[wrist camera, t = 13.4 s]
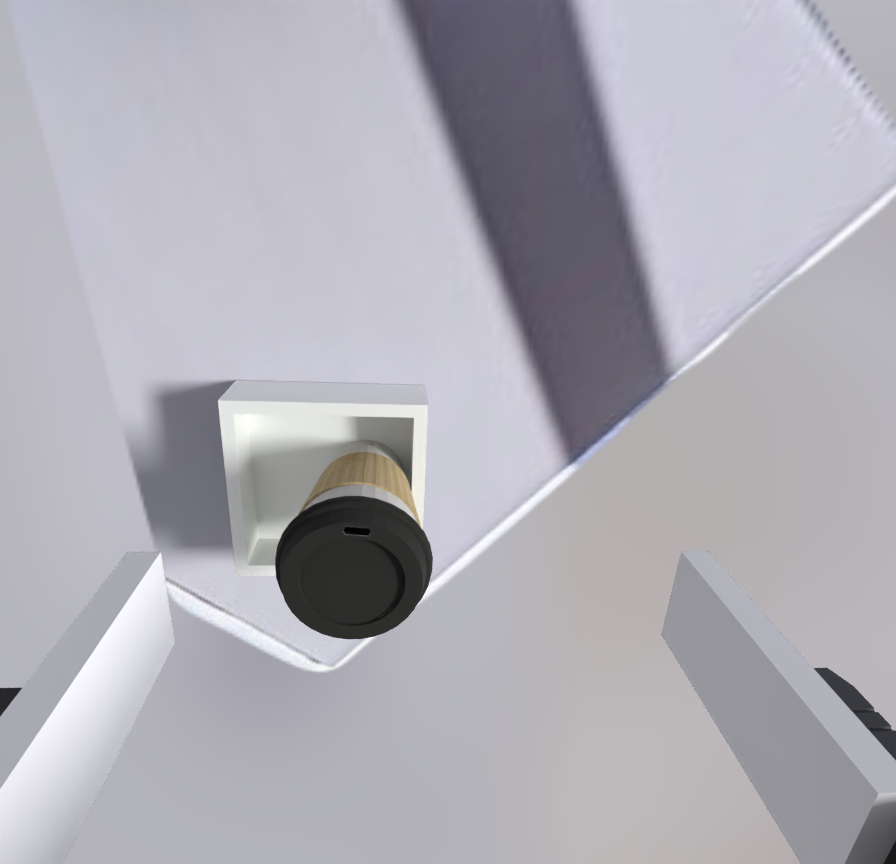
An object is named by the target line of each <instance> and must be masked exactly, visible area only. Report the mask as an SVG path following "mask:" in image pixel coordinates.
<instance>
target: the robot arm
mask: <svg viewBox="0 0 896 864" xmlns="http://www.w3.org/2000/svg"><path fill="white" fill-rule="evenodd" d="M662 637H663V638H664V640H665V641H666V643H667V645H668V646H669V648H670V650H671V651H672V653H673V655H674V656H675V658H676V659H677V661H678V663H679V664H680V666H681V668H682V669H683V671H684V673H685V674H686V676H687V677H688V679H689V681H690V682H691V684H692V686H693V687H694V689H695V691H696V692H697V694H698V696H699V697H700V699H701V700H702V702H703V704H704V705H705V707H706V709H707V710H708V712H709V714H710V715H711V717H712V718H713V720H714V722H715V724H716V725H717V727H718V728H719V730H720V732H721V733H722V735H723V737H724V738H725V740H726V742H727V743H728V745H729V746H730V748H731V750H732V751H733V753H734V755H735V756H736V758H737V760H738V761H739V763H740V765H741V766H742V768H743V769H744V771H745V773H746V774H747V776H748V778H749V779H750V781H751V782H752V784H753V786H754V787H755V789H756V791H757V792H758V794H759V796H760V797H761V799H762V801H763V802H764V804H765V805H766V807H767V809H768V811H769V812H770V814H771V815H772V817H773V819H774V820H775V822H776V824H777V825H778V827H779V829H780V830H781V832H782V834H783V835H784V836H785V838H786V840H787V842H788V843H789V845H790V846H791V848H792V850H793V851H794V853H795V855H796V856H797V858H798V860H799V861H800V863H801V864H896V731H892V729H891V726H890V725H889V723H888V722H887V721H886V720H885V719H884V718H883V717H882V716H881V715H880V714H879V713H878V712H875V711H874V708H873V706H872V705H871V704H870V703H869V702H868V701H867V700H866V699H865V698H864V697H863V696H862V695H861V694H860V693H859V692H858V691H857V689H855V687H853V686H852V685H851V684H849V683H848V682H847V681H845V680H843V679H842V678H841V677H839V676H838V675H837V674H835V673H834V672H832V671H831V670H829V669H828V668H813V667H812V666H811V665H810V664H809V663H808V662H807V661H806V659H805V658H804V657H803V656H802V655H801V654H800V653H799V651H798V650H797V649H796V648H795V647H794V646H793V645H792V644H791V642H789V640H788V639H787V638H786V637H785V636H784V635H783V633H782V632H780V630H779V629H778V628H777V627H776V626H775V625H774V624H773V622H772V621H771V620H770V619H769V618H768V617H767V616H766V615H765V613H764V612H763V611H762V610H761V609H760V608H759V607H758V605H757V604H756V603H755V602H754V601H753V600H752V599H751V598H750V596H749V595H748V594H747V593H746V592H745V591H744V590H743V589H742V588H741V586H740V585H739V584H738V583H737V582H736V581H735V580H734V579H733V578H732V576H730V574H729V573H728V572H727V571H726V570H725V569H724V567H723V566H722V565H721V564H720V563H719V562H718V561H717V559H716V558H715V557H714V556H713V555H712V554H711V553H710V552H709V551H681V555H680V559H679V564H678V567H677V572H676V576H675V580H674V584H673V588H672V592H671V596H670V601H669V605H668V609H667V614H666V618H665V621H664V626H663V630H662ZM174 643H175V640H174V634H173V627H172V621H171V615H170V609H169V602H168V596H167V589H166V583H165V577H164V570H163V564H162V558H161V552H127V553H126V554H125V556H124V557H123V558H122V560H121V561H120V562H119V563H118V565H117V566H116V567H115V569H114V570H113V571H112V572H111V574H110V575H109V576H108V578H107V579H106V580H105V582H104V583H103V584H102V585H101V587H100V588H99V589H98V591H97V592H96V593H95V594H94V596H93V597H92V598H91V600H90V601H89V602H88V604H87V605H86V606H85V607H84V609H83V610H82V611H81V613H80V614H79V615H78V617H77V618H76V619H75V620H74V622H73V623H72V624H71V626H70V627H69V628H68V629H67V631H66V632H65V633H64V635H63V636H62V637H61V639H60V640H59V641H58V642H57V644H56V645H55V646H54V648H53V649H52V650H51V652H50V653H49V654H48V655H47V657H46V658H45V659H44V661H43V662H42V663H41V664H40V666H39V667H38V668H37V670H36V671H35V672H34V674H33V675H32V676H31V678H30V679H29V680H28V681H27V683H26V684H25V685H24V687H23V688H0V864H63V863H64V861H65V859H66V857H67V855H68V853H69V851H70V849H71V847H72V845H73V843H74V841H75V839H76V837H77V835H78V833H79V831H80V829H81V827H82V825H83V823H84V821H85V819H86V817H87V815H88V813H89V811H90V809H91V807H92V805H93V804H94V801H95V799H96V797H97V795H98V793H99V792H100V790H101V788H102V785H103V783H104V782H105V780H106V778H107V776H108V774H109V772H110V770H111V768H112V766H113V764H114V762H115V760H116V758H117V756H118V754H119V752H120V750H121V748H122V746H123V744H124V742H125V740H126V738H127V736H128V734H129V732H130V730H131V728H132V726H133V724H134V722H135V720H136V718H137V716H138V714H139V712H140V710H141V708H142V706H143V705H144V702H145V700H146V699H147V697H148V695H149V693H150V691H151V688H152V687H153V685H154V683H155V681H156V679H157V677H158V675H159V673H160V671H161V669H162V667H163V665H164V663H165V661H166V659H167V657H168V655H169V653H170V651H171V649H172V647H173V645H174Z"/></svg>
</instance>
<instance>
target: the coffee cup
mask: <svg viewBox="0 0 896 864" xmlns="http://www.w3.org/2000/svg"><path fill="white" fill-rule="evenodd" d="M432 560H433V556H432V552H431V547H430V543H429V541H428V539H427V537H426V535H425V532H424V531H423V530H422V528H421V524H420V520H419V517H418V514H417V510H416V507H415V503H414V500H413V496H412V493H411V490H410V486H409V483H408V480H407V478H406V476H405V474H404V472H403V468H402V465H401V462H400V460H399V458H398V456H397V455H396V454H395V452H393V451H392V450H391V449H390V448H389V447H387V446H386V445H384V444H382V443H379V442H377V441H371V440H360V441H354V442H352V443H349V444H347V445H345V446H344V447H342V448H341V449H340V450H339V451H338V452H337V453H336V454H335V456H334V457H333V459H332V460H331V462H330V464H329V466H328V467H327V468H326V469H325V470H324V472H323V473H322V475H321V476H320V478H319V480H318V481H317V483H316V485H315V487H314V488H313V490H312V492H311V493H310V495H309V497H308V498H307V500H306V502H305V504H304V505H303V507H302V509H301V510H300V512H299V514H298V516H296V517H295V518H294V519H293V520H292V521H291V522H290V523H289V525H288V526H287V528H286V529H285V530H284V532H283V533H282V535H281V538H280V540H279V543H278V545H277V550H276V557H275V569H276V578H277V581H278V584H279V587H280V590H281V592H282V594H283V596H284V599H285V602H286V603H287V605H288V607H289V608H290V610H291V612H292V613H293V614H294V615H295V616H296V617H297V618H298V619H299V620H300V621H301V622H302V623H304V624H305V625H307V626H308V627H309V628H311V629H313V630H315V631H317V632H319V633H321V634H324V635H328V636H331V637H335V638H342V639H363V638H368V637H374V636H377V635H379V634H382V633H385V632H387V631H389V630H391V629H393V628H394V627H396V626H398V625H399V624H400V623H401V622H403V621H404V620H405V619H406V618H407V617H408V616H409V615H410V614H411V612H412V611H413V610H414V609H415V607H416V605H417V604H418V603H419V601H420V600H421V599H422V597H423V595H424V593H425V591H426V589H427V587H428V584H429V581H430V577H431V573H432Z"/></svg>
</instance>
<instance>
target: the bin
mask: <svg viewBox="0 0 896 864" xmlns="http://www.w3.org/2000/svg"><path fill="white" fill-rule="evenodd" d="M218 408H219V418H220V427H221V437H222V447H223V457H224V467H225V476H226V486H227V496H228V506H229V516H230V525H231V535H232V545H233V555H234V565H235V574H236V576H276V569H275V557H276V550H277V545H278V543H279V540H280V538H281V535H282V533H283V532H284V530H285V529H286V528H287V526H288V525H289V523H290V522H291V521H292V520H293V519H294V518H295V517H296V516H298V514H299V512H300V510H301V509H302V507H303V505H304V504H305V502H306V500H307V498H308V497H309V495H310V493H311V492H312V490H313V488H314V487H315V485H316V483H317V481H318V480H319V478H320V476H321V475H322V473H323V472H324V470H325V469H326V468H327V467H328V466H329V464H330V462H331V460H332V459H333V457H334V456H335V454H336V453H337V452H338V451H339V450H340V449H341V448H342V447H344V446H345V445H347V444H349V443H352V442H354V441H360V440H371V441H377V442H379V443H382V444H384V445H386V446H387V447H389V448H390V449H391V450H392V451H393V452H395V454H396V455H397V456H398V458H399V460H400V462H401V465H402V468H403V472H404V474H405V476H406V478H407V480H408V483H409V486H410V490H411V493H412V496H413V500H414V503H415V507H416V510H417V514H418V517H419V520H420V524H421V528H422V530H423V511H424V488H425V464H426V441H427V417H428V402H427V395H426V389H425V385H402V384H364V383H327V382H289V381H252V380H236V381H235V382H234V383H233V384H232V385H231V386H230V387H229V389H228V390H227V391H226V392H225V393H224V394H223V395H222V396H221V397H220V398H219V400H218Z"/></svg>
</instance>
